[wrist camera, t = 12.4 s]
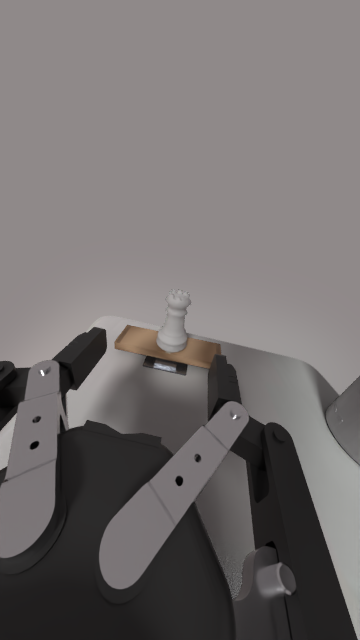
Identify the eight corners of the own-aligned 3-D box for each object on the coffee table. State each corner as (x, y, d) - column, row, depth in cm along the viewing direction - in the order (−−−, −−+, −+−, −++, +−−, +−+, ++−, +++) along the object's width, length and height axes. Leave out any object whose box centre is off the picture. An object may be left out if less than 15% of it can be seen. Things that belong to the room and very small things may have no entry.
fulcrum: (189, 344, 30) (190, 341, 30) (185, 375, 24) (186, 371, 24) (155, 337, 30) (155, 333, 30) (142, 366, 25) (143, 362, 24)
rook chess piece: (150, 348, 25) (155, 295, 20) (162, 331, 28) (168, 283, 24) (181, 358, 24) (193, 305, 20) (189, 339, 28) (200, 291, 23)
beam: (218, 350, 28) (220, 344, 28) (219, 370, 25) (222, 364, 24) (127, 331, 29) (127, 324, 28) (114, 348, 25) (114, 341, 25)
